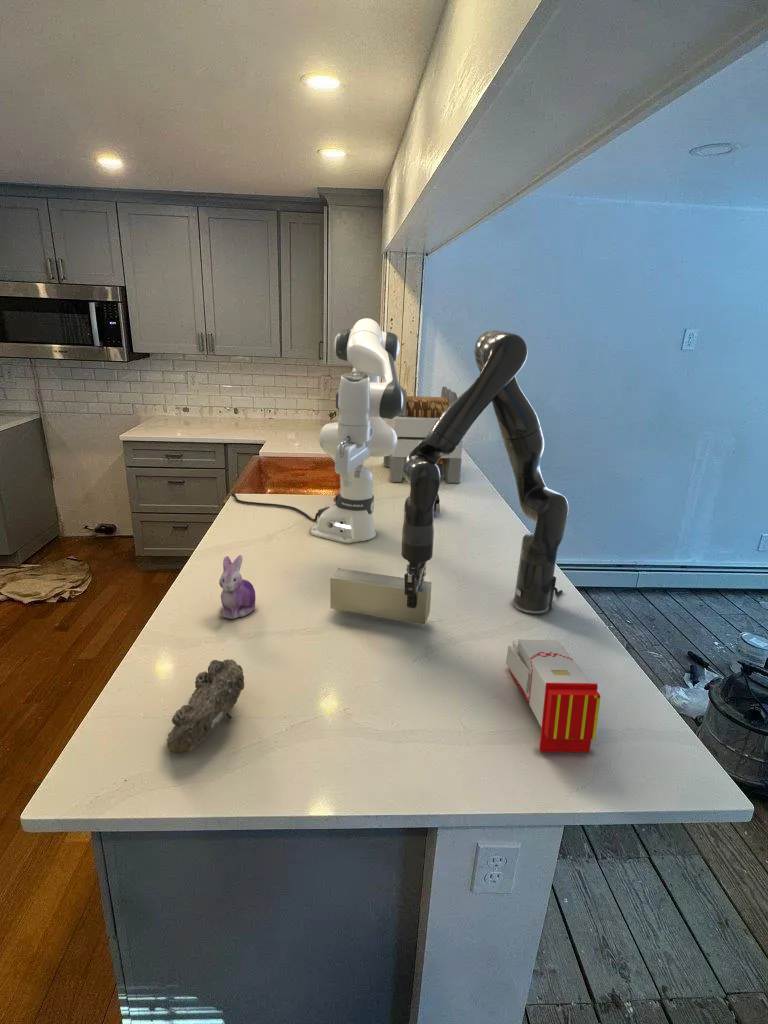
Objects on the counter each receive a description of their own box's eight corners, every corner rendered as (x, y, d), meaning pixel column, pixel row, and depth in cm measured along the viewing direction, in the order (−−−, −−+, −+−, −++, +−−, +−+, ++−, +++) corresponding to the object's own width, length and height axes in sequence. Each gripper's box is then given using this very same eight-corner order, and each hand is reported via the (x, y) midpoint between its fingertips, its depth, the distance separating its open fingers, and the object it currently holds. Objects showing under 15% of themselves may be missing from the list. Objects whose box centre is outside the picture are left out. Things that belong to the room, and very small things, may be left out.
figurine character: (440, 522, 216) (436, 505, 230) (442, 504, 213) (438, 488, 226) (422, 521, 216) (419, 504, 229) (424, 503, 213) (421, 487, 226)
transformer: (382, 463, 289) (386, 382, 275) (445, 464, 293) (451, 384, 279) (390, 482, 257) (394, 392, 243) (460, 483, 261) (468, 394, 247)
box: (330, 608, 145) (330, 577, 142) (338, 597, 150) (338, 567, 147) (424, 624, 139) (426, 592, 136) (429, 612, 144) (431, 582, 141)
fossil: (192, 660, 117) (244, 628, 112) (224, 691, 120) (276, 661, 115) (142, 746, 98) (202, 712, 93) (182, 779, 101) (242, 748, 96)
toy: (554, 622, 128) (610, 691, 98) (548, 677, 130) (601, 759, 101) (501, 621, 127) (541, 690, 98) (496, 676, 130) (534, 758, 101)
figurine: (224, 623, 139) (221, 568, 134) (215, 604, 148) (212, 552, 142) (262, 616, 143) (260, 562, 138) (251, 598, 152) (249, 546, 147)
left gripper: (352, 442, 145) (351, 493, 150) (375, 427, 163) (373, 473, 168) (329, 439, 146) (328, 490, 151) (354, 425, 165) (353, 471, 170)
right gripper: (426, 552, 127) (423, 618, 133) (438, 529, 140) (435, 590, 146) (394, 548, 129) (392, 612, 135) (409, 526, 142) (406, 585, 148)
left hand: (352, 481), depth 160 cm, fingers open, 8 cm apart
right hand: (414, 600), depth 141 cm, fingers closed on box, 6 cm apart
